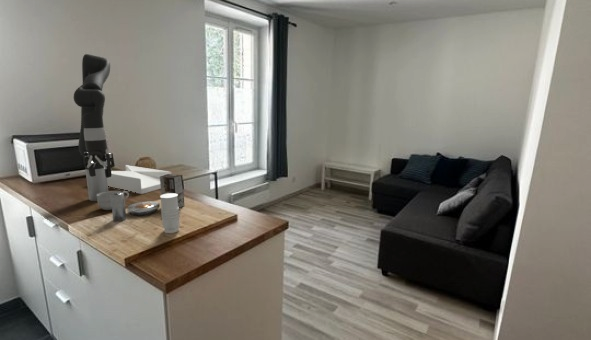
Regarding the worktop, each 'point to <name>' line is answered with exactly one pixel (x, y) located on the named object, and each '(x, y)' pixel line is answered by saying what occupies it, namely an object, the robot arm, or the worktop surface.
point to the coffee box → (173, 186)
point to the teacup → (107, 199)
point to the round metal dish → (143, 208)
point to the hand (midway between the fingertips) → (100, 176)
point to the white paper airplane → (137, 179)
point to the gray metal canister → (118, 206)
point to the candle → (170, 212)
